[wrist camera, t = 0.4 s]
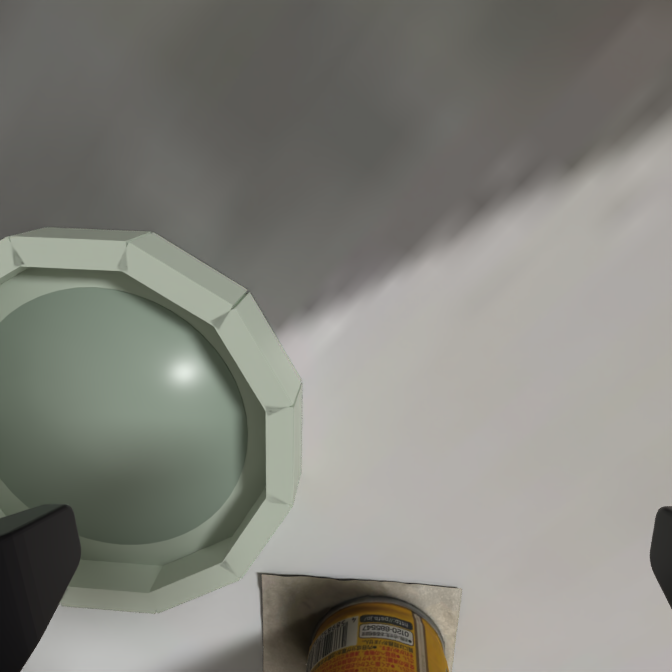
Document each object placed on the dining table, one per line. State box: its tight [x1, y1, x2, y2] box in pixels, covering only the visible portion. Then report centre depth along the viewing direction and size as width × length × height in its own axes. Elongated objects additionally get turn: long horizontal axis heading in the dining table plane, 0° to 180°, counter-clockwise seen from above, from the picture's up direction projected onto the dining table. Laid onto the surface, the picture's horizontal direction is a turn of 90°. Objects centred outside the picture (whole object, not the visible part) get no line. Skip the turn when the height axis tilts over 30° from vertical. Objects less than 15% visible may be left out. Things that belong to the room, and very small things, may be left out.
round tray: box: [0, 227, 302, 614], centre depth 23 cm, size 15×15×2 cm
